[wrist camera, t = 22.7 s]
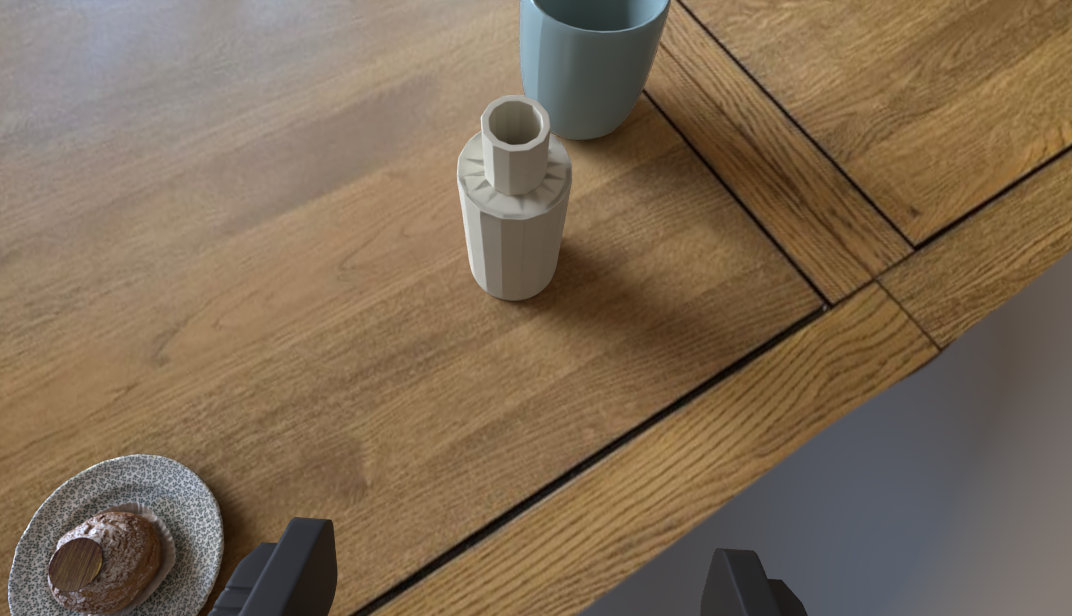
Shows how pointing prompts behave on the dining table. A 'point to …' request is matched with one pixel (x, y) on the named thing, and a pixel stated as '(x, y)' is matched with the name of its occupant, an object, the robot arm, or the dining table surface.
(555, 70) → the cup
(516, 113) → the white faceted vase
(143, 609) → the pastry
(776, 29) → the dining table surface
